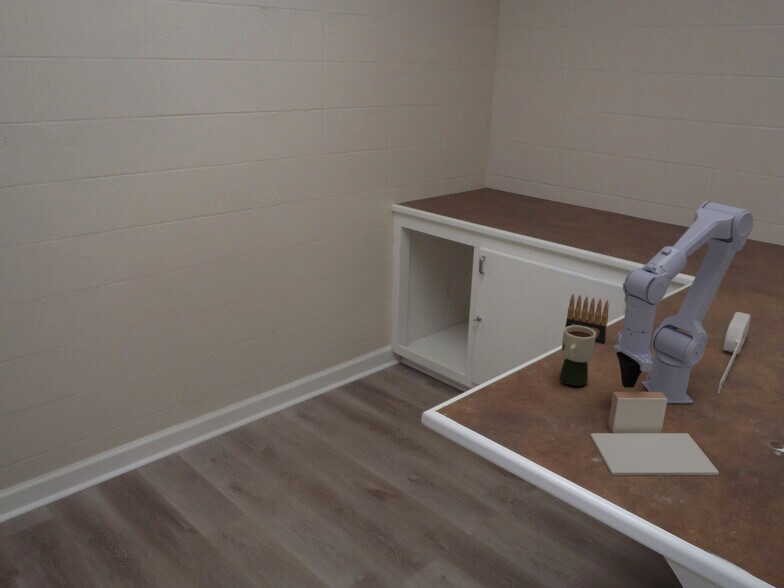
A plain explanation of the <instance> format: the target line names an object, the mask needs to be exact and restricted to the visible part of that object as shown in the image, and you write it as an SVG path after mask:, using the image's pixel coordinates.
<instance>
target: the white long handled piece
mask: <svg viewBox="0 0 784 588" xmlns="http://www.w3.org/2000/svg"><path fill="white" fill-rule="evenodd" d="M751 321H752V318H751V314H749V313H746V312H745V313H744V312H742V311H741V312H740V311H737V312H734V315H733V317H732V319H731V320H730V322H729V325H728V326H727V329H726V333H725V339H724V342H723V351H725V352H728V353H732V356H731V358H730V360H729V362H728V364H727V367H726V369H725V371H724V373H723V374H722V377H721V379H720V381H719V385H718V389H717V395H719V394H720V392H721V390H722V387H723V385H724V383H725V381H726V379H727V376H728V373H729V371H730V369H731V368H732V366H733V364H734V361H735V359H736V357H737V355H739V354H740V352H741V350H742V348H743V345H744V343H745V340H746V338H747V335H748V330H749V328H750V323H751Z"/></svg>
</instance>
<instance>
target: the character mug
mask: <svg viewBox="0 0 784 588" xmlns="http://www.w3.org/2000/svg"><path fill="white" fill-rule="evenodd" d="M595 337H596V332H595V331H594V330H592V329H591V328H588V327H585V326H580V325H579V326H576V325H572V326H568V327H564V329H563V334H562V344H561V349H560V350H561V351H560V353H561V355H562V356H563V357H564V358H565V359H564V360H563V362H562V363H563V364H562V366H561V370H560V374H559V380H560V382H562V383H563V384H566V385H571V386H580V387H581V386H584V385H587V383H588V379H589V378H588V377H589V376H588V375H589V373H588V371H589V369H588V368H589V367H588V365H589V363H588V362H590V361H592V360H593V356H594V350H595V343H596V342H595Z"/></svg>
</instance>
